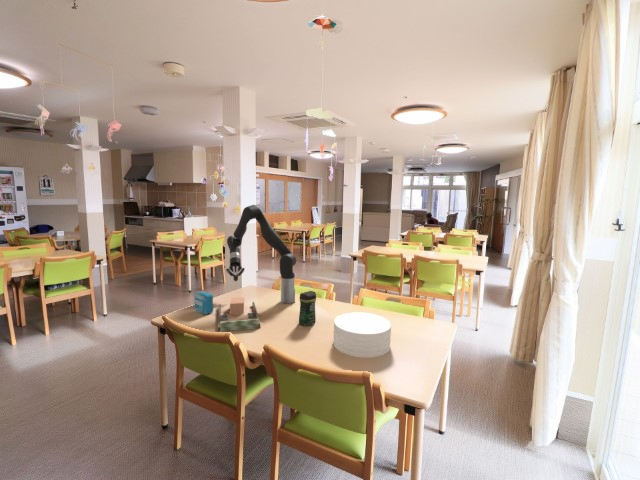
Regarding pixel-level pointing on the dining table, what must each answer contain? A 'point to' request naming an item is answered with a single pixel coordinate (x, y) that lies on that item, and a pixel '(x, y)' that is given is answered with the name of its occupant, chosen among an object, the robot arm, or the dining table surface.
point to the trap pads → (250, 315)
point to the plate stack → (362, 334)
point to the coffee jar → (307, 308)
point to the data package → (203, 302)
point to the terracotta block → (237, 306)
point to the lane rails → (239, 322)
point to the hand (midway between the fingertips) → (235, 280)
